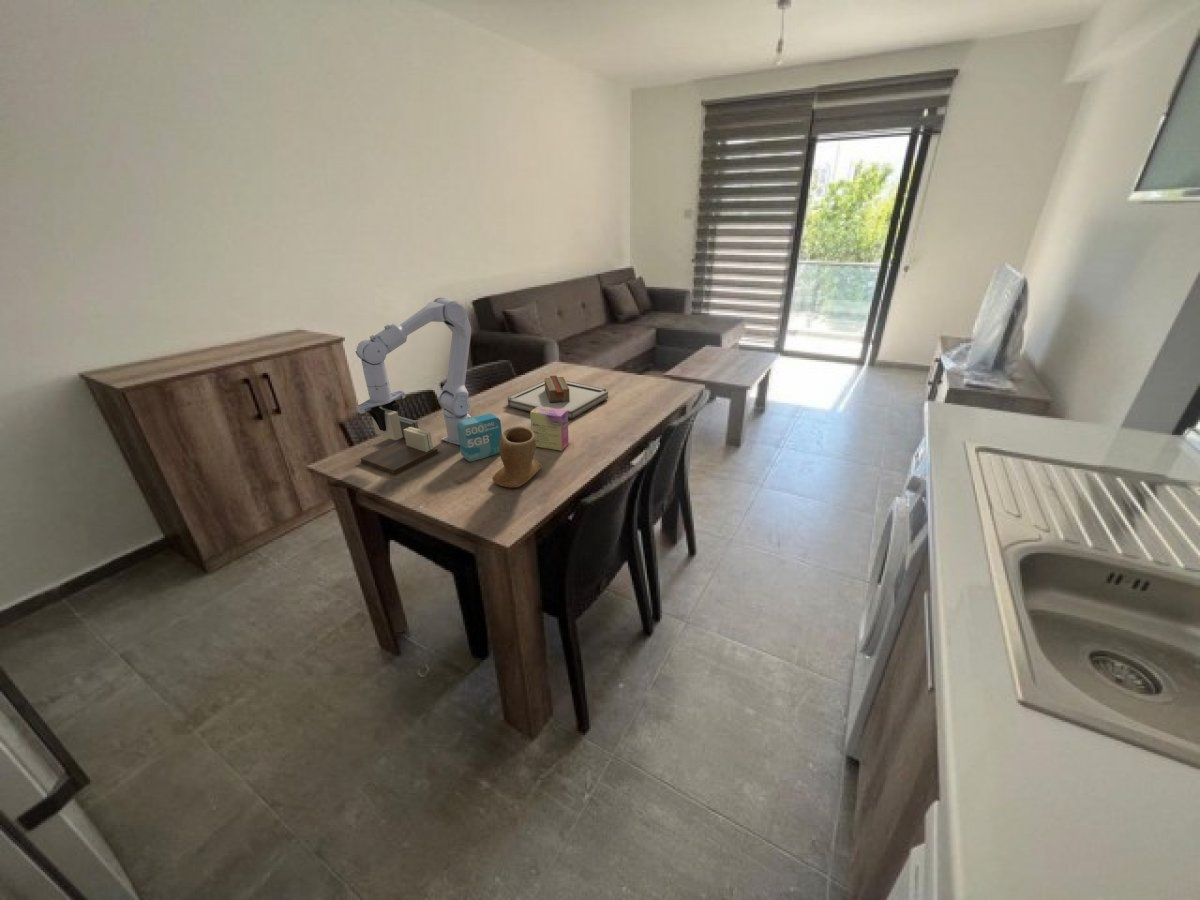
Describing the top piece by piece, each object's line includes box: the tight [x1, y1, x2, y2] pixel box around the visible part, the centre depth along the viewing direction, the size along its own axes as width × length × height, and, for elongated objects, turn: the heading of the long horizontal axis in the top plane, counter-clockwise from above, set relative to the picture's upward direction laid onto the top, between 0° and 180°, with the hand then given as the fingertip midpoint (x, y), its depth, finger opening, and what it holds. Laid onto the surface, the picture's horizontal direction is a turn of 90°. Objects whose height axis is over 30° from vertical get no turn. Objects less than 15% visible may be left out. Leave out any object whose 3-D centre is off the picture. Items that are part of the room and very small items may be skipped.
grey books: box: [398, 415, 420, 439], centre depth 157 cm, size 9×3×6 cm, turn 59°
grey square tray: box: [507, 375, 609, 420], centre depth 185 cm, size 30×30×8 cm
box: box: [529, 406, 569, 452], centre depth 150 cm, size 10×6×12 cm, turn 71°
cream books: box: [403, 427, 434, 452], centre depth 147 cm, size 9×3×6 cm, turn 59°
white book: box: [371, 406, 403, 441], centre depth 139 cm, size 9×2×8 cm, turn 59°
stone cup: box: [491, 425, 543, 488], centre depth 131 cm, size 15×12×15 cm
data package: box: [457, 412, 503, 463], centre depth 144 cm, size 12×4×12 cm, turn 126°
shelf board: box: [360, 438, 439, 476], centre depth 145 cm, size 15×16×2 cm
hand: (387, 428), depth 140 cm, fingers closed on white book, 2 cm apart
